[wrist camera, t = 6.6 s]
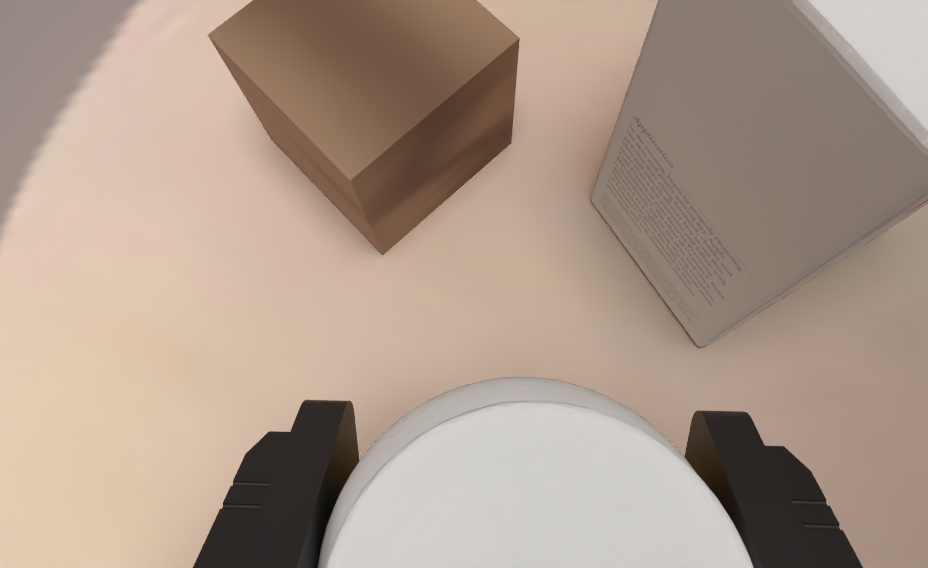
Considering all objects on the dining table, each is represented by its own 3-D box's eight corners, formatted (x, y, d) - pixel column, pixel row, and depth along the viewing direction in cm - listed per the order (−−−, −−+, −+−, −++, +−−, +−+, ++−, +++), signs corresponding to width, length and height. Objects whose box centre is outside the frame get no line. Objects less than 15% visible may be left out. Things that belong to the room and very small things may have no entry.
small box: (769, 85, 25) (1063, -326, 12) (891, 227, 23) (1372, -80, 11) (581, 198, 24) (690, -124, 11) (694, 355, 22) (971, 181, 10)
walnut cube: (397, 38, 26) (373, -91, 20) (510, 144, 24) (519, 38, 19) (272, 140, 25) (207, 34, 19) (383, 256, 23) (350, 180, 18)
